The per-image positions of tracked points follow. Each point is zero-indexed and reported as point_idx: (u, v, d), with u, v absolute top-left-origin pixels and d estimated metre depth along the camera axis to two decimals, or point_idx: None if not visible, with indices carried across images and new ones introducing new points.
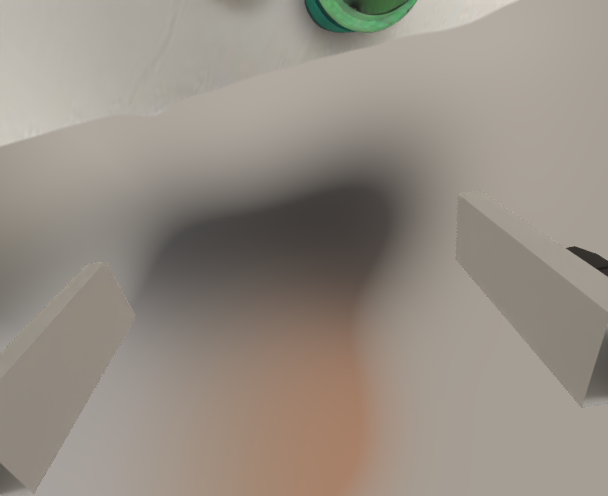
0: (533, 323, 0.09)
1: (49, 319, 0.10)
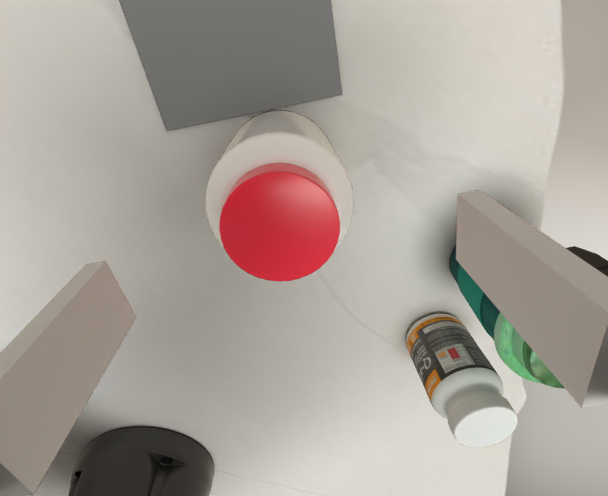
0: (533, 323, 0.09)
1: (49, 319, 0.10)
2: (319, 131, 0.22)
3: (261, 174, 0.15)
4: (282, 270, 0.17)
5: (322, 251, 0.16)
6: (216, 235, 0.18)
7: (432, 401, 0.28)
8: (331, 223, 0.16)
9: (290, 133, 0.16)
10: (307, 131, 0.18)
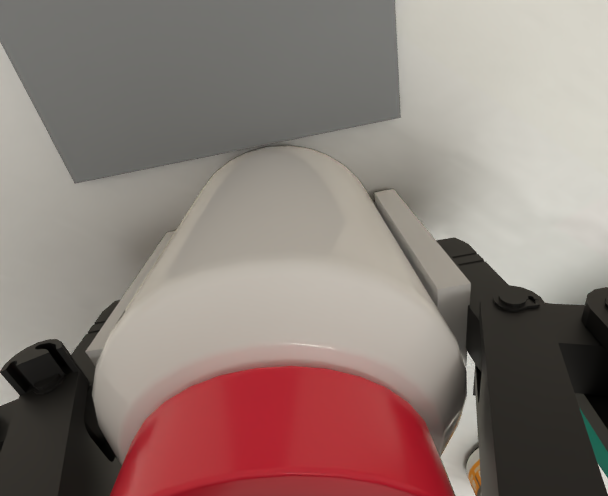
0: None
1: None
2: (362, 194, 0.11)
3: (214, 477, 0.04)
4: None
5: None
6: None
7: None
8: None
9: (315, 259, 0.06)
10: (350, 222, 0.08)
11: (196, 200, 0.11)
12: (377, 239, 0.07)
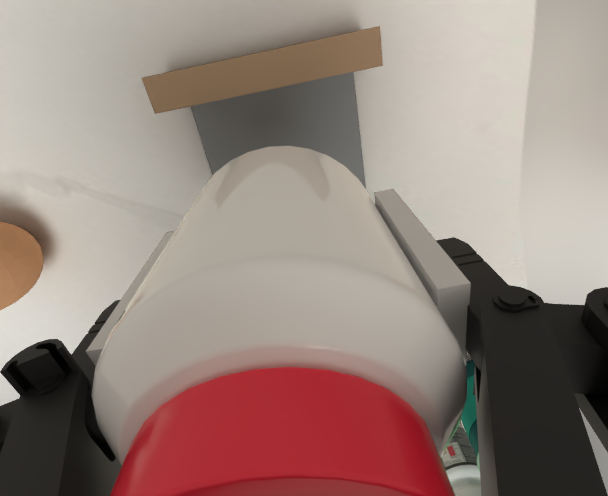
0: None
1: None
2: (362, 194, 0.11)
3: (214, 479, 0.04)
4: None
5: None
6: None
7: None
8: None
9: (315, 259, 0.06)
10: (351, 222, 0.08)
11: (196, 200, 0.11)
12: (377, 239, 0.07)
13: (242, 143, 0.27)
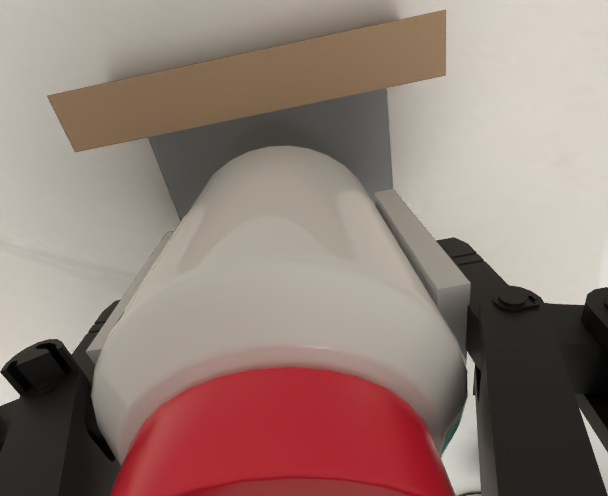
0: None
1: None
2: (362, 194, 0.11)
3: (214, 479, 0.04)
4: None
5: None
6: None
7: None
8: None
9: (315, 259, 0.06)
10: (351, 222, 0.08)
11: (196, 200, 0.11)
12: (377, 239, 0.07)
13: None
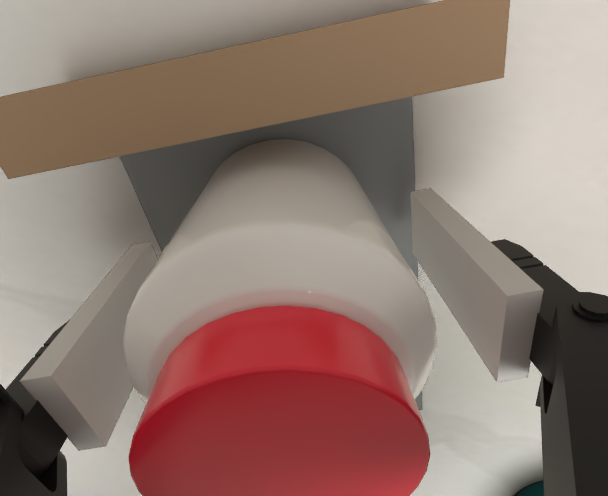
0: (464, 309, 0.10)
1: (109, 291, 0.11)
2: (353, 181, 0.12)
3: (231, 373, 0.05)
4: None
5: None
6: None
7: None
8: (409, 458, 0.06)
9: (308, 224, 0.07)
10: (339, 200, 0.09)
11: (205, 186, 0.13)
12: (362, 214, 0.09)
13: None
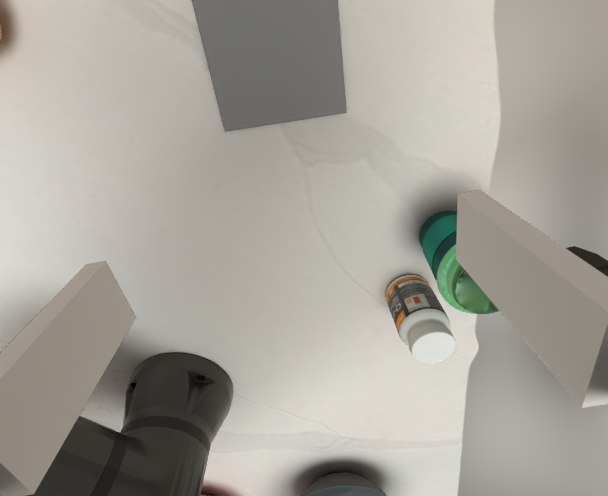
0: (533, 323, 0.09)
1: (49, 319, 0.10)
2: None
3: None
4: None
5: None
6: None
7: (399, 332, 0.39)
8: None
9: None
10: None
11: None
12: None
13: None
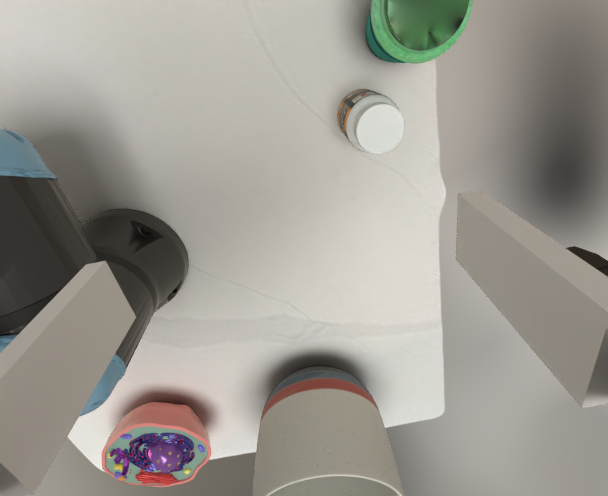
0: (533, 323, 0.09)
1: (49, 319, 0.10)
2: None
3: None
4: None
5: None
6: None
7: (346, 130, 0.36)
8: None
9: None
10: None
11: None
12: None
13: None
